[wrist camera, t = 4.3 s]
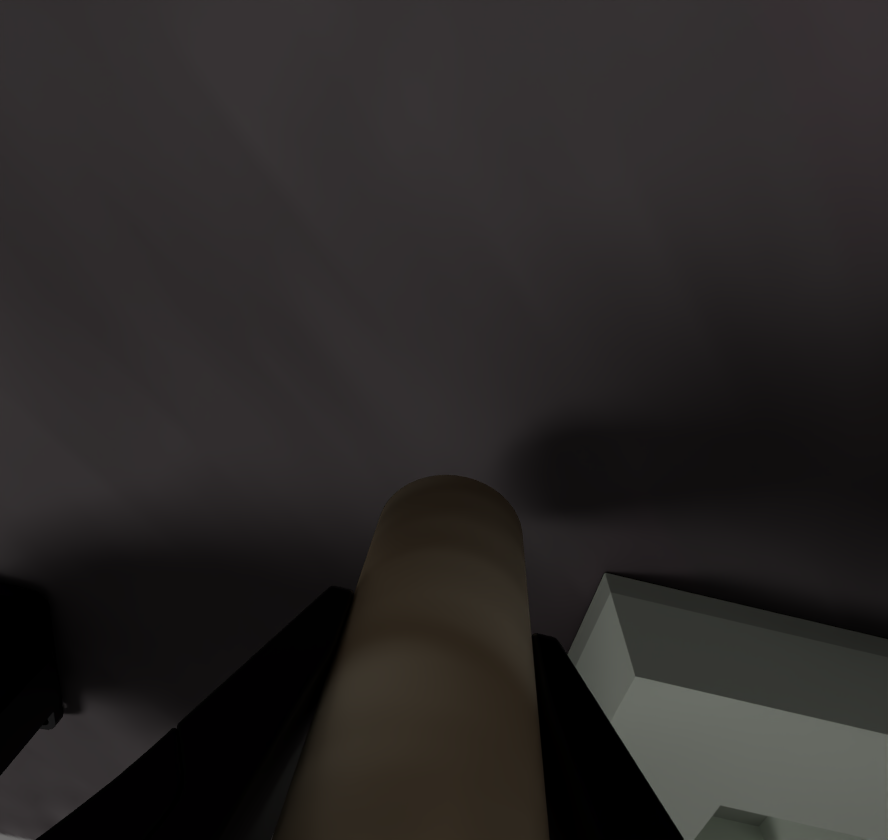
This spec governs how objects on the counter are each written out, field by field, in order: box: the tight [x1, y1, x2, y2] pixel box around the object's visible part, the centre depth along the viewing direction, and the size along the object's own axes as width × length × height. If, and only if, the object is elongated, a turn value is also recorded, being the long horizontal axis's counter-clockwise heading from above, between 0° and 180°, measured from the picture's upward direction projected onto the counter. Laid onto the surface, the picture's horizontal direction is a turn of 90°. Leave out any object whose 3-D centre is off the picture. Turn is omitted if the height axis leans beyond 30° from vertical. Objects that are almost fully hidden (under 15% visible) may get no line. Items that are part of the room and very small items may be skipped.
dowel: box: [272, 475, 550, 840], centre depth 7 cm, size 3×3×9 cm
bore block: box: [567, 573, 888, 840], centre depth 16 cm, size 12×12×4 cm
